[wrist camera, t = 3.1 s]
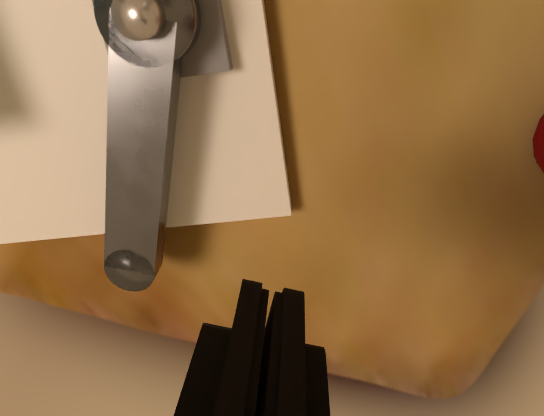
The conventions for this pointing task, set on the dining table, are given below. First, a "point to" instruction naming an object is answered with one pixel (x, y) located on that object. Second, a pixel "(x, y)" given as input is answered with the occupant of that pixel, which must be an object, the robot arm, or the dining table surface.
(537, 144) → the plastic cup
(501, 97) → the dining table surface
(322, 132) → the dining table surface
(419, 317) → the dining table surface
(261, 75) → the hinge board
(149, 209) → the link
